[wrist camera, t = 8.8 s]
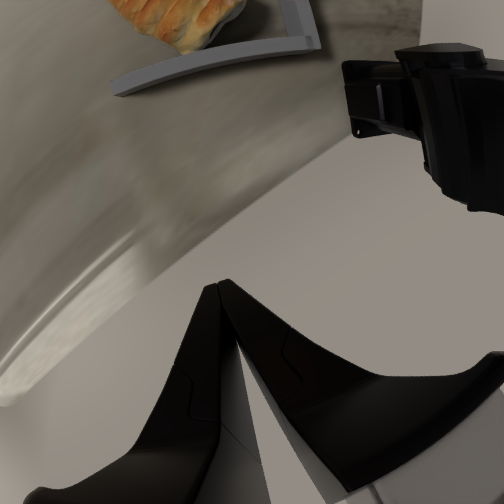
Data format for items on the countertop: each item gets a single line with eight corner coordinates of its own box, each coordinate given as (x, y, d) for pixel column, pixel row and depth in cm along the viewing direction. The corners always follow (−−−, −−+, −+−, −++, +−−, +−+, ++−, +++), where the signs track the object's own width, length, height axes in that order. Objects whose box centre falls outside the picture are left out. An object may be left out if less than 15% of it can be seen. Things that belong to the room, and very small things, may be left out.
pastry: (88, 17, 10) (71, 0, 7) (148, -48, 9) (145, -72, 5) (196, 66, 15) (200, 55, 12) (253, 0, 13) (270, -19, 10)
